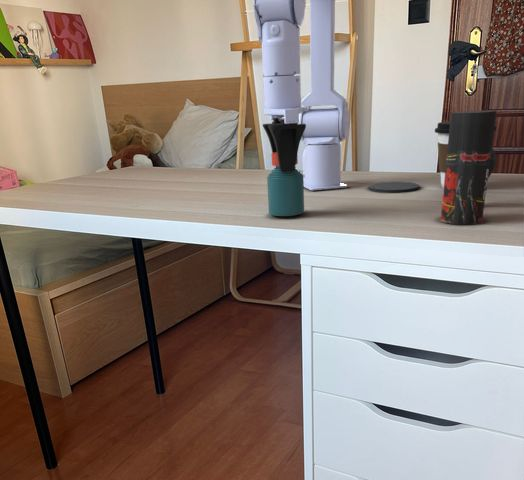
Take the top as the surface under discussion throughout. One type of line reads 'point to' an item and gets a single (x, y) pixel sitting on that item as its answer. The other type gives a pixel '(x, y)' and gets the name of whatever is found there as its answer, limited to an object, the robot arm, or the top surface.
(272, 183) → the bottle
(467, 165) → the deodorant
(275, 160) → the cap
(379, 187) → the coaster
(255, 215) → the top surface
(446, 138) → the coffee cup
